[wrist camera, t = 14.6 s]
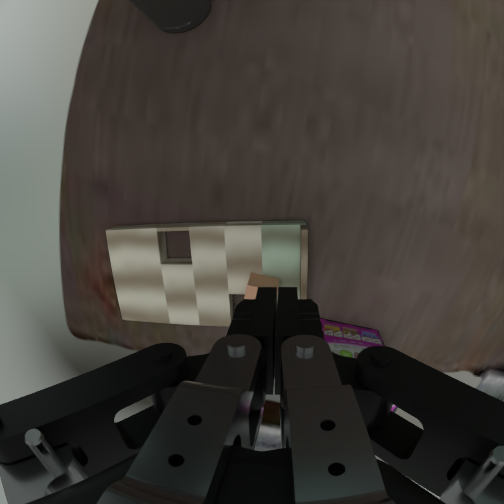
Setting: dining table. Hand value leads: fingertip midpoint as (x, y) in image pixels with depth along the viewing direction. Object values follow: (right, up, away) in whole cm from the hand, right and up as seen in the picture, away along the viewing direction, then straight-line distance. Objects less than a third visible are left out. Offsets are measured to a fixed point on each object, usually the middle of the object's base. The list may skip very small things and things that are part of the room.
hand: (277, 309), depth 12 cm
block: (0, -3, +31) cm, 31 cm away
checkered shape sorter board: (-8, -1, +35) cm, 36 cm away
